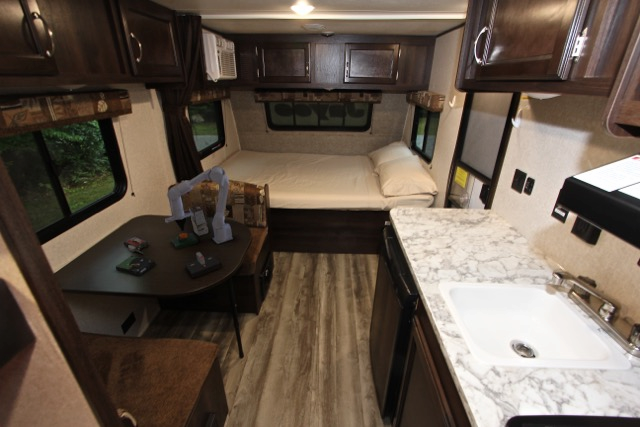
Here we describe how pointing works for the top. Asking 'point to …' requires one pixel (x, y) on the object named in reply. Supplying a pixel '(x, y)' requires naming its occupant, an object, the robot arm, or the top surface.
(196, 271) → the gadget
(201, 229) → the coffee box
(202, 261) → the pale grey block
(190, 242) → the control block
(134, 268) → the disk drive
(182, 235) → the button
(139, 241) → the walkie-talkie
